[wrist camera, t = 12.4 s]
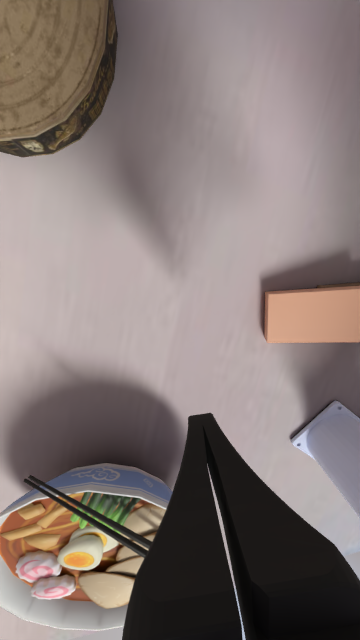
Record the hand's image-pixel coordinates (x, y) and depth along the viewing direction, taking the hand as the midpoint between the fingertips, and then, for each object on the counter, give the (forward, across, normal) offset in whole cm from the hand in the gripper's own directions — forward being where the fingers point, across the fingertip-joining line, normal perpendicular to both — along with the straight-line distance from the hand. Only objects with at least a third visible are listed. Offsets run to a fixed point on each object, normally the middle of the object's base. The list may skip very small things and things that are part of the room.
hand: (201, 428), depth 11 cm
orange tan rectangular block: (+10, -9, -3) cm, 13 cm away
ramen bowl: (+11, +12, +19) cm, 25 cm away
